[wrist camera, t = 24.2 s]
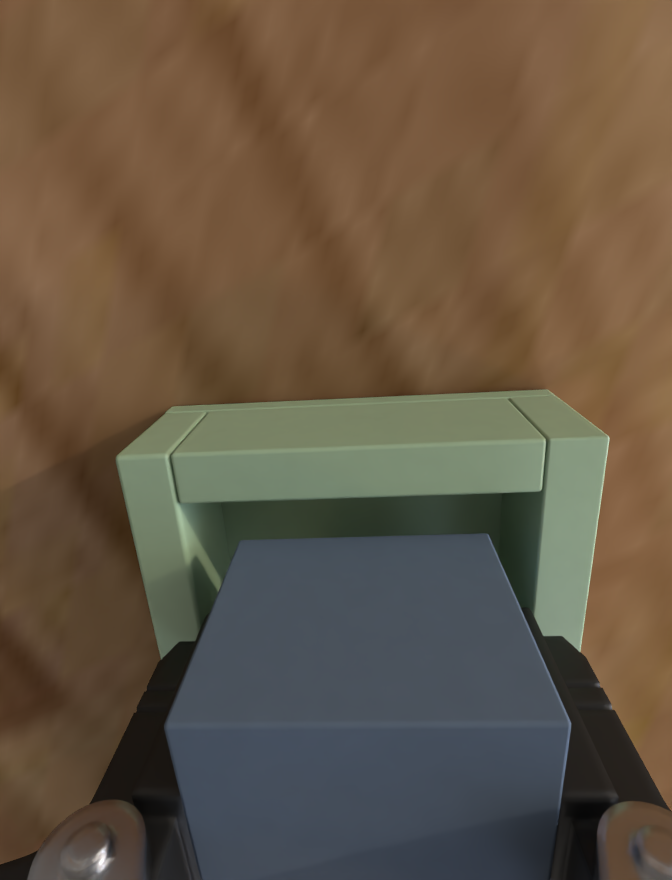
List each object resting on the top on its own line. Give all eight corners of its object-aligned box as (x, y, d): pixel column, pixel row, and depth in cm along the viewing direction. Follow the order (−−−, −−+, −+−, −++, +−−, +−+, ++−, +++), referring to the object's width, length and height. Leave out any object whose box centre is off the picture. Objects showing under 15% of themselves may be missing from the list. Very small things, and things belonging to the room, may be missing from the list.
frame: (252, 855, 17) (231, 974, 14) (171, 405, 12) (111, 456, 9) (506, 857, 17) (535, 980, 14) (547, 388, 11) (610, 436, 8)
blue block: (265, 720, 11) (218, 957, 8) (238, 539, 10) (160, 726, 6) (478, 720, 11) (540, 966, 7) (489, 531, 9) (574, 724, 6)
